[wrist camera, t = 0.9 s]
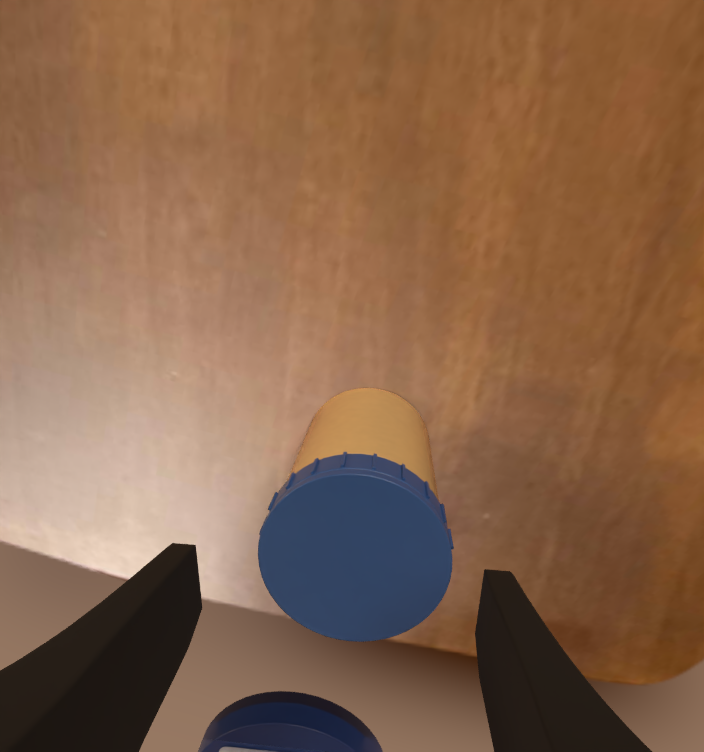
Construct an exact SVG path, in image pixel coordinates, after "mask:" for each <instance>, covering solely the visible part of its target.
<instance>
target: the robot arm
mask: <svg viewBox="0 0 704 752" xmlns="http://www.w3.org/2000/svg"><path fill="white" fill-rule="evenodd" d="M201 610H202V602H201V592H200V582H199V573H198V563H197V554H196V545H188V544H176V543H172V544H171V545H170V546H168V547H167V548H166V549H165V550H163V551H162V552H161V553H160V554H159V555H157V556H156V557H155V558H154V559H153V560H152V561H150V562H149V563H148V564H147V565H146V566H144V567H143V568H142V569H141V570H140V571H139V572H137V573H136V574H135V575H134V576H133V577H131V578H130V579H129V580H128V581H127V582H125V583H124V584H123V585H122V586H121V587H119V588H118V589H117V590H116V591H114V592H113V593H112V594H111V595H109V596H108V597H107V598H106V599H105V600H103V601H102V602H101V603H99V604H98V605H97V606H96V607H94V608H93V609H92V610H90V611H89V612H88V613H86V614H85V615H84V616H82V617H81V618H80V619H78V620H77V621H76V622H74V623H73V624H72V625H70V626H69V627H68V628H66V629H65V630H63V631H62V632H60V633H59V634H58V635H56V636H55V637H53V638H52V639H50V640H49V641H47V642H46V643H44V644H43V645H41V646H40V647H38V648H37V649H35V650H34V651H32V652H30V653H29V654H27V655H26V656H24V657H23V658H21V659H19V660H18V661H16V662H15V663H13V664H11V665H9V666H7V667H6V668H4V669H2V670H1V671H0V752H139V750H140V748H141V745H142V743H143V741H144V739H145V737H146V735H147V733H148V731H149V728H150V726H151V724H152V722H153V720H154V718H155V716H156V714H157V712H158V710H159V708H160V706H161V704H162V702H163V700H164V698H165V696H166V694H167V691H168V689H169V687H170V685H171V683H172V681H173V679H174V677H175V675H176V673H177V671H178V669H179V666H180V664H181V662H182V660H183V658H184V656H185V653H186V652H187V650H188V647H189V645H190V642H191V639H192V636H193V633H194V631H195V628H196V625H197V622H198V619H199V616H200V613H201ZM475 636H476V648H477V659H478V668H479V678H480V683H481V688H482V693H483V698H484V703H485V708H486V713H487V718H488V723H489V728H490V733H491V738H492V742H493V747H494V752H652V751H651V750H650V749H649V748H648V747H647V746H646V745H644V743H643V742H642V741H641V740H640V739H639V738H638V737H637V736H636V735H635V734H634V733H633V732H632V731H631V730H630V729H629V728H628V727H627V726H626V725H625V724H624V722H623V721H622V720H621V719H620V718H619V717H618V716H617V715H616V714H615V713H614V711H613V710H612V709H611V708H610V707H609V706H608V705H607V704H606V702H605V701H604V700H603V699H602V698H601V697H600V696H599V695H598V693H597V692H596V691H595V690H594V688H593V687H592V686H591V685H590V684H589V683H588V681H587V680H586V679H585V677H584V676H583V675H582V674H581V672H580V671H579V670H578V668H577V667H576V666H575V665H574V663H573V662H572V661H571V659H570V658H569V657H568V655H567V654H566V653H565V652H564V650H563V649H562V647H561V646H560V645H559V643H558V642H557V640H556V639H555V638H554V636H553V635H552V633H551V632H550V631H549V629H548V628H547V626H546V625H545V623H544V622H543V621H542V619H541V618H540V616H539V615H538V613H537V612H536V610H535V609H534V607H533V606H532V604H531V602H530V601H529V599H528V598H527V596H526V595H525V593H524V591H523V590H522V588H521V586H520V585H519V583H518V582H517V580H516V578H515V576H514V575H513V574H512V573H511V572H510V571H498V570H486V569H485V570H484V576H483V583H482V590H481V597H480V604H479V611H478V618H477V624H476V631H475ZM219 752H277V751H267V750H257V749H247V748H238V747H228V746H226V747H222V748H221V749H220V750H219Z"/></svg>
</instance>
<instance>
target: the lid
mask: <svg viewBox="0 0 704 752" xmlns="http://www.w3.org/2000/svg"><path fill="white" fill-rule="evenodd" d="M268 510H270V511H269V513H268V516H267V517H266V519H265V521H264V523H263V526H262V528H261V530H260V534H259V535H260V539H259V545H258V559H259V567H260V571H261V575H262V578H263V580H264V583H265V585H266V587H267V589H268V591H269V593H270V595H271V596H272V598H273V599H274V600H275V602H276V603H277V604H278V605H279V606H280V608H281V609H282V610H283V611H284V612H285V613H286V614H288V615H289V616H290V617H291V618H292V619H294V620H295V621H296V622H298V623H300V624H301V625H303V626H304V627H306V628H308V629H310V630H312V631H314V632H316V633H319V634H321V635H324V636H327V637H331V638H335V639H339V640H346V641H359V642H360V641H361V642H364V641H376V640H381V639H386V638H390V637H393V636H396V635H399V634H401V633H403V632H406V631H408V630H410V629H411V628H413V627H415V626H416V625H418V624H419V623H421V622H422V621H423V620H424V619H426V618H427V617H428V616H429V615H430V614H431V613H432V612H433V611H434V610H435V608H436V607H437V606H438V604H439V603H440V601H441V600H442V598H443V596H444V594H445V592H446V590H447V587H448V584H449V582H450V577H451V572H452V552H451V549H453V542H452V536H451V531H450V529H448V528H447V521H446V515H445V509H444V505H443V504H440V503H439V501H438V499H437V498H436V496H435V494H434V493H433V491H432V490H431V489H430V488H429V483H428V482H427V481H425V482H424V481H423V480H421V479H420V478H419V477H418V476H417V475H416V474H414V473H413V472H411V471H410V470H409V469H407V468H405V464H403V463H402V465H400V464H398V463H396V462H393V461H391V460H388V459H385V458H382V457H378V456H377V454H375V453H374V454H373V455H367V454H347V452H343V454H341V455H334V456H330V457H326V458H323V459H320V460H319V459H318V458H316V459H315V460H314V462H313V463H311V464H309V465H307V466H305V467H304V468H302V469H301V470H299V471H298V472H297V473H294V472H293V473H291V475H290V478H289V480H288V481H287V482H286V483H285V484H284V485H283V487H282V488H281V489H280V491H279V493H277V492H276V493H275V494H274V497H273V499H272V501H271V503H270V506H269V508H268Z"/></svg>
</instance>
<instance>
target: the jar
mask: <svg viewBox="0 0 704 752" xmlns="http://www.w3.org/2000/svg"><path fill="white" fill-rule="evenodd" d="M343 452H347V454H367V455H373V454H374V453H375V454H377V456H378V457H382V458H385V459H388V460H391V461H393V462H396V463H398V464H400V465H402V463H403V464H405V468H407V469H409V470H410V471H411V472H413V473H414V474H416V475H417V476H418V477H419V478H420V479H421V480H423V481H424V482H425V481H427V482H428V483H429V488H430V489H431V490H432V491H433V493H434V494H435V496H436V498H437V499H438V492H437V486H436V480H435V473H434V467H433V461H432V455H431V448H430V442H429V436H428V432H427V428H426V426H425V424H424V421H423V420H422V418H421V416H420V415H419V413H418V412H417V411H416V410H415V408H414V407H413V406H411V405H410V404H409V403H408V402H407V401H405V400H404V399H403V398H401V397H399V396H397V395H396V394H393V393H391V392H388V391H385V390H381V389H375V388H359V389H353V390H349V391H345V392H343V393H341V394H338V395H337V396H335V397H333V398H331V399H330V400H329V401H327V402H326V403H325V404H324V405H323V406H322V407H321V408H320V409H319V411H318V412H317V413H316V415H315V417H314V418H313V420H312V422H311V425H310V427H309V429H308V432H307V434H306V437H305V439H304V441H303V444H302V446H301V448H300V451H299V453H298V456H297V458H296V460H295V463H294V465H293V468H292V470H291V472H290V475H291V473H293V472H294V473H297V472H298V471H299V470H301V469H302V468H304V467H305V466H307V465H309V464H311V463H313V462H314V460H315V459H316V458H318V459H319V460H320V459H323V458H326V457H330V456H334V455H341V454H343ZM290 475H289V477H288V479H287V481H288V480H289V478H290ZM438 501H439V499H438Z"/></svg>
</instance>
